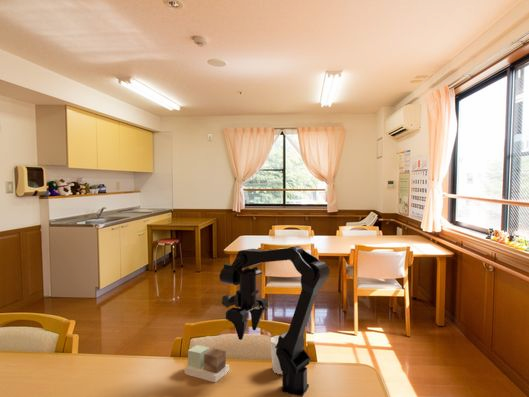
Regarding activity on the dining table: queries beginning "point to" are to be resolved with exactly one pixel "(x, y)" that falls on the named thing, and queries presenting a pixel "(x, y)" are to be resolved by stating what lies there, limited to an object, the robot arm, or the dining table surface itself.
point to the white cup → (275, 356)
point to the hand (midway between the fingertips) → (247, 334)
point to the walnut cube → (214, 360)
